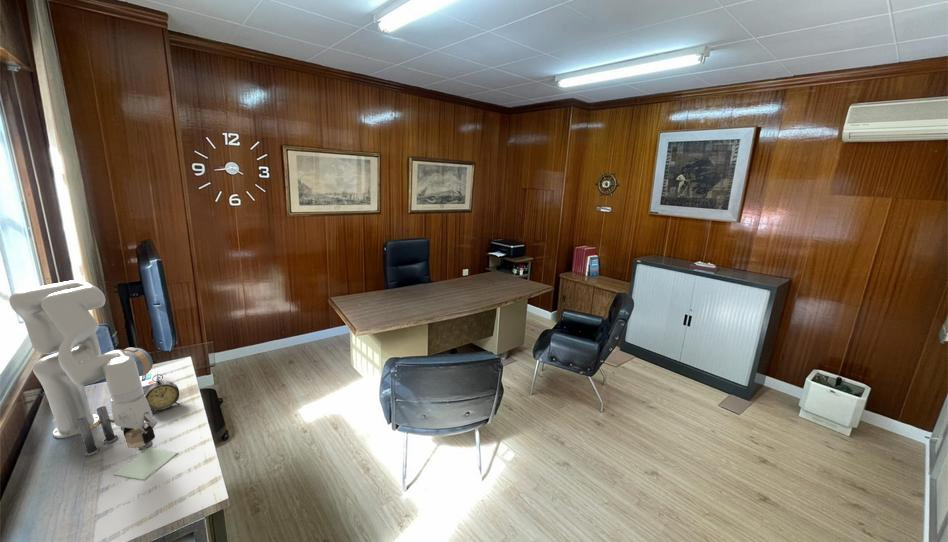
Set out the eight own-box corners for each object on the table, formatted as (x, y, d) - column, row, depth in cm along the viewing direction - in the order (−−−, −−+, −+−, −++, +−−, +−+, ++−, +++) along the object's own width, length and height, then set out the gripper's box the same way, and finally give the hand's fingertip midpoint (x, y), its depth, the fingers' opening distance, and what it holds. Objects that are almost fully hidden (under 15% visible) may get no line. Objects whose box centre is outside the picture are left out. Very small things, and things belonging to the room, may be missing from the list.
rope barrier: (81, 455, 129) (70, 422, 125) (112, 435, 138) (102, 404, 134) (126, 463, 126) (116, 429, 122) (155, 442, 136) (146, 410, 132)
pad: (113, 475, 121) (113, 474, 121) (149, 448, 133) (149, 447, 133) (144, 480, 120) (144, 479, 120) (178, 453, 131) (178, 452, 131)
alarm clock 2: (148, 416, 149) (139, 382, 144) (148, 410, 153) (139, 376, 148) (182, 405, 156) (174, 372, 152) (181, 399, 160) (173, 367, 155)
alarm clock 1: (115, 385, 169) (105, 351, 164) (137, 374, 178) (128, 341, 173) (141, 389, 166) (131, 355, 161) (162, 377, 176) (153, 344, 171)
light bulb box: (143, 397, 161) (137, 376, 158) (162, 392, 165) (157, 371, 162) (140, 410, 153) (134, 388, 150) (161, 404, 157) (156, 382, 154)
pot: (122, 446, 121) (119, 436, 120) (142, 433, 127) (140, 423, 126) (139, 449, 120) (136, 439, 119) (158, 435, 126) (156, 425, 125)
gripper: (92, 397, 116) (106, 444, 121) (138, 403, 113) (151, 450, 118) (117, 384, 123) (130, 428, 128) (161, 389, 121) (173, 434, 126)
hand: (140, 439), depth 123 cm, fingers closed on pot, 6 cm apart
